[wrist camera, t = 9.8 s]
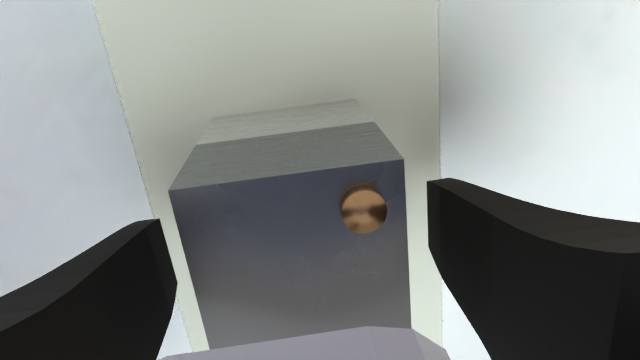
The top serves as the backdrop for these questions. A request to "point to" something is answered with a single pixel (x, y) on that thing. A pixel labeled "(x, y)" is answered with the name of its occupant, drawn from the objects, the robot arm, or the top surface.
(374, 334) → the robot arm
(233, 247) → the housing
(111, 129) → the top surface
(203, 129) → the sage stand
